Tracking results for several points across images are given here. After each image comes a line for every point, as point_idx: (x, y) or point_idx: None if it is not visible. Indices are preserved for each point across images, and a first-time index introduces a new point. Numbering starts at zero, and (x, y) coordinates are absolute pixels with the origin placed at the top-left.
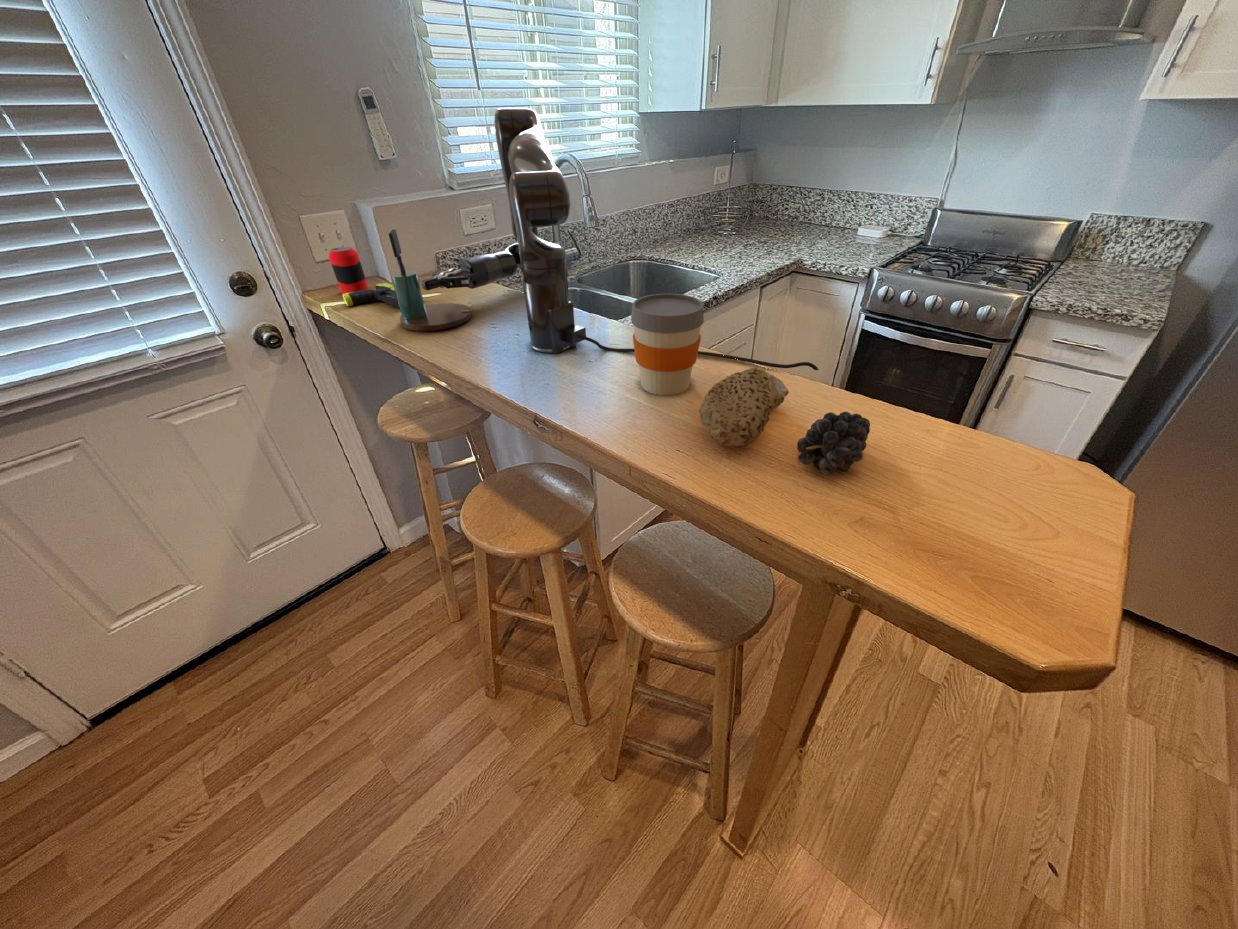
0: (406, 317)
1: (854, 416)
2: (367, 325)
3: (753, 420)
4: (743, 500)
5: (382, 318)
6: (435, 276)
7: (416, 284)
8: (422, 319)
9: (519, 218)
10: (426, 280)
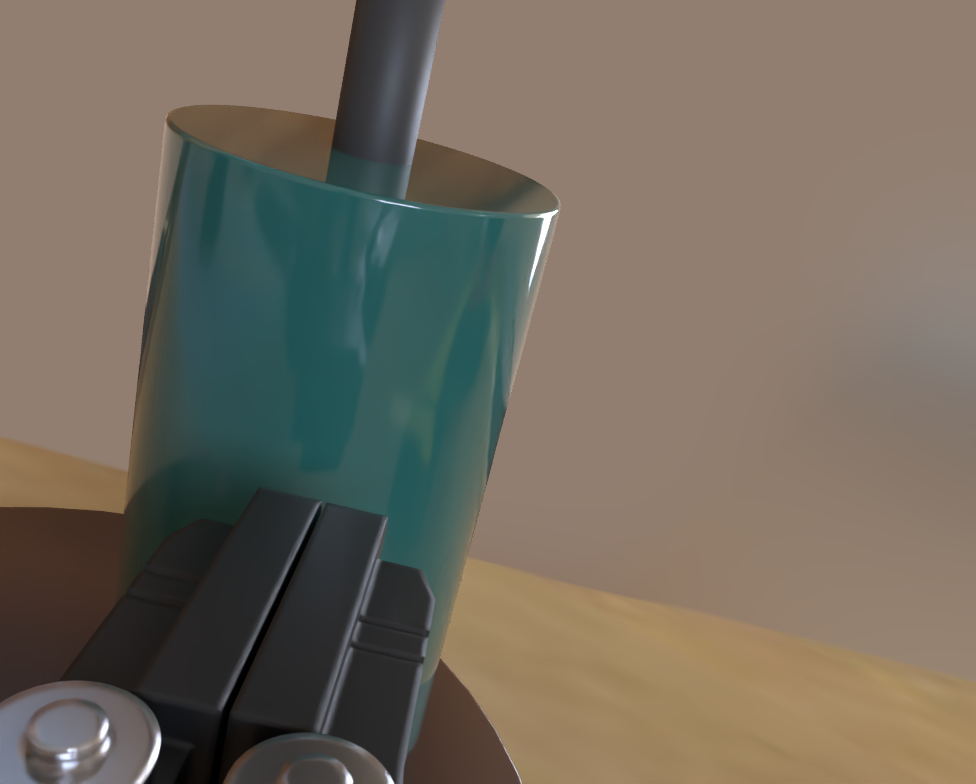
0: None
1: None
2: (631, 602)
3: None
4: None
5: (726, 741)
6: (306, 765)
7: (148, 278)
8: (59, 621)
9: None
10: (285, 523)
